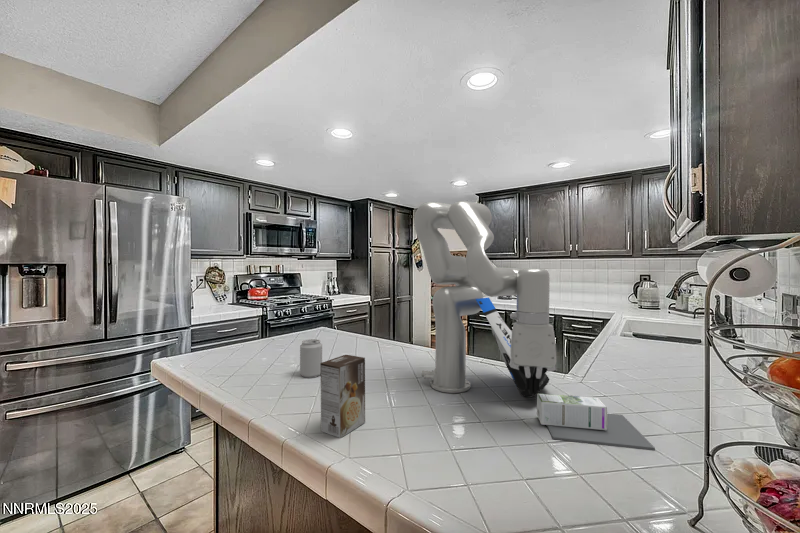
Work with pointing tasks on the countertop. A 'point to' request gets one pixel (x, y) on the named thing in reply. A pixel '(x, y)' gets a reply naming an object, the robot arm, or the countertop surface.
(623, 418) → the mat
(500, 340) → the protein powder
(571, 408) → the syrup box
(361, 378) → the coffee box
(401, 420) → the countertop surface
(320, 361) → the can
